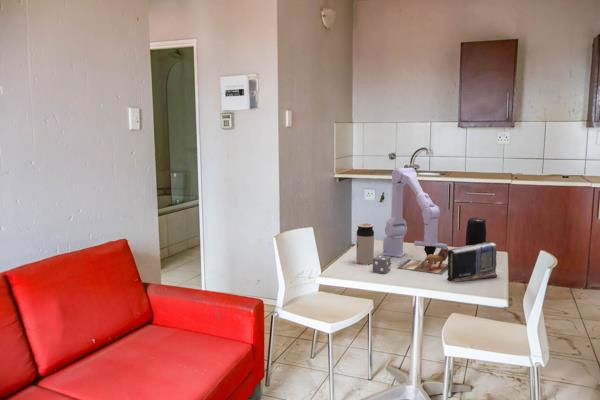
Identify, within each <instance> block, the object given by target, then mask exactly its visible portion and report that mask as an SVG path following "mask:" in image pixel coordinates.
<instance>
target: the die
mask: <svg viewBox="0 0 600 400" xmlns="http://www.w3.org/2000/svg"><path fill="white" fill-rule="evenodd" d="M391 257H392V256H386V255H376V256H375V257H374V258H373V263H372V273H377V274H384V275H387V273H389V272H390V271H391V265H392V264H391V262H392V261H391V260H392V259H391Z"/></svg>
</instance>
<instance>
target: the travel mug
mask: <svg viewBox="0 0 600 400" xmlns="http://www.w3.org/2000/svg"><path fill="white" fill-rule="evenodd" d="M356 226H357V230H356V263H357V264H360V265H371V264H373V258H375V257H374V256H375V254H374V252H375V251H374V249H375V248H374V247H375V231H374V229H373V227H374V224H373V223H368V222H366V223H365V222H364V223H363V222H362V223H357V224H356Z"/></svg>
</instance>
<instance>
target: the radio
mask: <svg viewBox="0 0 600 400" xmlns="http://www.w3.org/2000/svg"><path fill="white" fill-rule="evenodd" d="M448 250H449V251H448V257H447V264H448V269H447V278H446V280H447V281H448V282H450V284H451V283H460V282H467V281H474V280H483V279H489V278H490V279H491V278H497V277H498V274H497V272H496V271H497V254H498V253H497V252H498V251H497V244H496V243H495V242H493V241H491V240H487V241H486V242H484V243H481V244H476V245H468V246H466V245H464V246H459V247H453V248H450V249H448Z"/></svg>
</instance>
